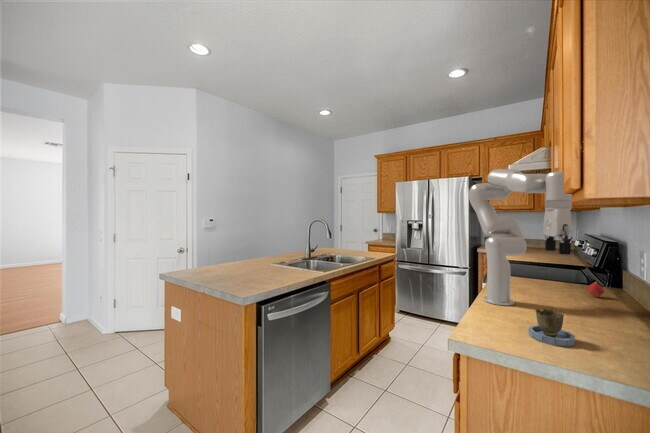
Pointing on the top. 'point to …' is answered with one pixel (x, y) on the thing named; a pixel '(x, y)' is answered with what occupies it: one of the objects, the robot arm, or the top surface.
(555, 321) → the cup
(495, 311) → the top surface
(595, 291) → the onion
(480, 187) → the robot arm
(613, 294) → the top surface
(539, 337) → the dish
